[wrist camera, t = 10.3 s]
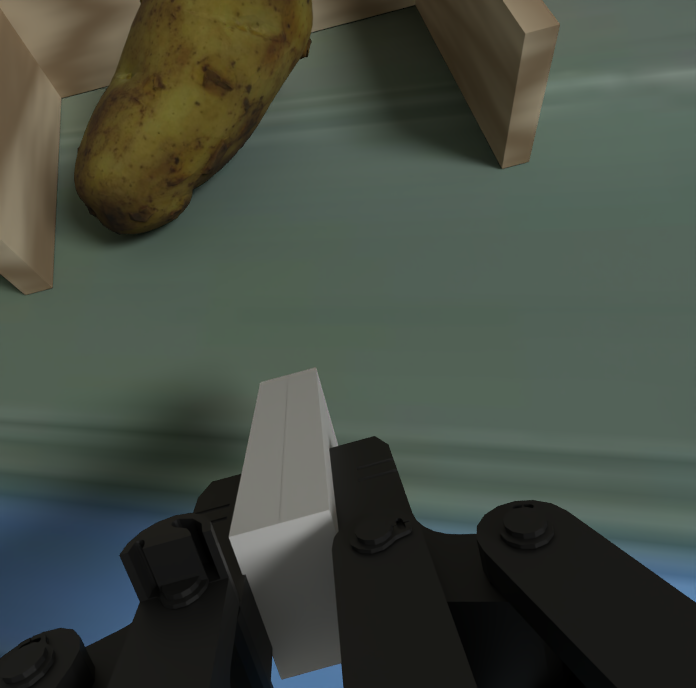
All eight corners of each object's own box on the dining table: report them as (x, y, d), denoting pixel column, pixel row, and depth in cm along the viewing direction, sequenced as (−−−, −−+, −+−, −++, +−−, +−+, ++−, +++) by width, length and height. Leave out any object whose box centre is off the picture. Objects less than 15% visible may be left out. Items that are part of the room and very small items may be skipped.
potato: (68, 172, 27) (-58, 8, 20) (285, 52, 29) (241, -132, 22) (137, 279, 23) (11, 123, 16) (379, 131, 25) (362, -61, 18)
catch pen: (25, 295, 23) (-91, 196, 18) (40, 90, 30) (-40, -25, 25) (528, 161, 23) (559, 24, 18) (429, -13, 30) (431, -149, 25)
